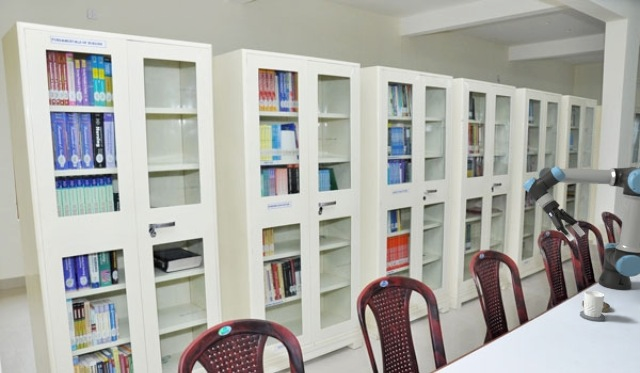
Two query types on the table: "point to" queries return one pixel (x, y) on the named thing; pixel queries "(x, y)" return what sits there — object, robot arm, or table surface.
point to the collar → (605, 307)
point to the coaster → (592, 317)
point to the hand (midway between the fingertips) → (578, 237)
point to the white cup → (593, 303)
